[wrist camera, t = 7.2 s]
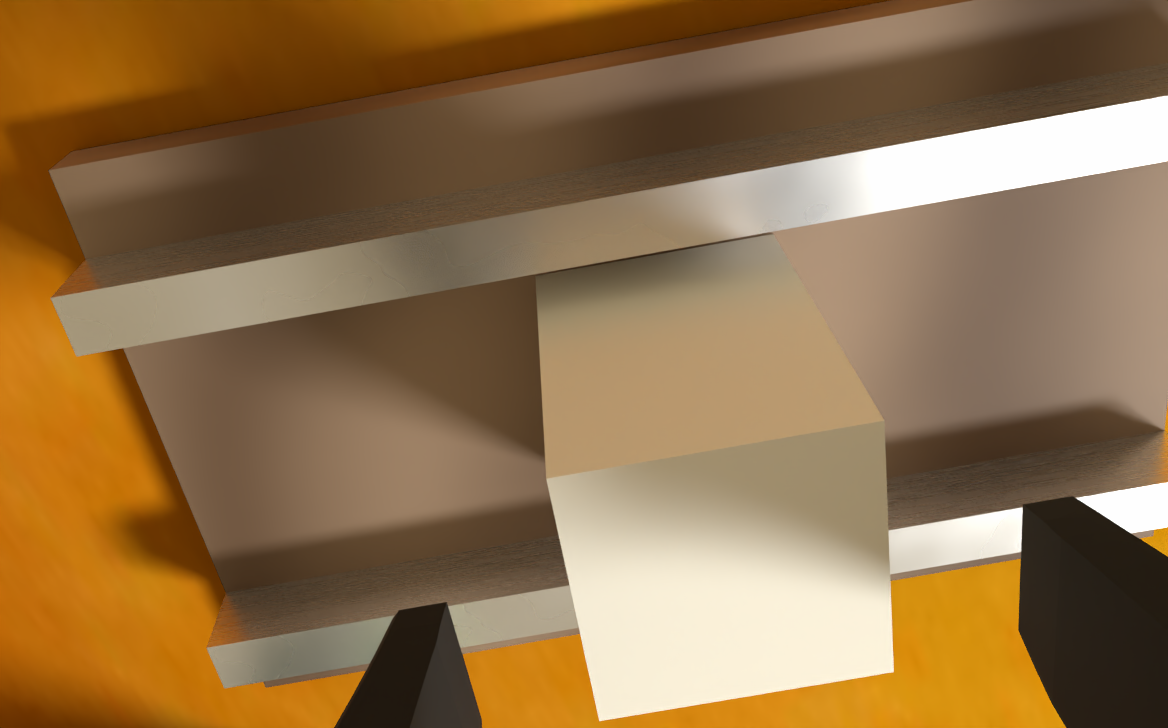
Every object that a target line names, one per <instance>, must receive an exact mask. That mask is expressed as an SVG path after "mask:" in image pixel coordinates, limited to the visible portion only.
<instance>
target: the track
mask: <svg viewBox="0 0 1168 728" xmlns="http://www.w3.org/2000/svg"><path fill="white" fill-rule="evenodd" d="M48 171H49V173H50V176H51V178H52V180H53V183H54V185H55V188H56V190H57V192H58V195H59V197H60V199H61V202H62V204H63V207H64V209H65V211H66V214H67V216H68V218H69V221H70V223H71V226H72V228H73V230H74V233H75V235H76V237H77V240H78V242H79V245H80V247H81V249H82V252H83V254H84V256H85V261H84V262H83V263H82V264H81V265H80V266H79V267H78V268H77V269H76V270H75V272H74V273H73V274H72V275H71V276H70V277H69V278H68V279H67V280H66V281H65V283H64V284H63V285H62V286H61V287H60V288H59V289H58V290H57V291H56V292H55V294H54V295H53V296H52V297H51V300H52V302H53V304H54V307H55V309H56V311H57V313H58V316H59V318H60V320H61V322H62V325H63V327H64V329H65V331H66V334H67V336H68V338H69V340H70V343H71V345H72V347H73V349H74V352H75V354H76V356H82V355H88V354H93V353H99V352H104V351H110V350H116V349H121V348H123V349H124V352H125V354H126V356H127V359H128V361H129V363H130V366H131V368H132V371H133V373H134V375H135V378H136V380H137V383H138V385H139V387H140V390H141V392H142V394H143V397H144V399H145V402H146V404H147V406H148V409H149V411H150V413H151V416H152V418H153V421H154V423H155V425H156V428H157V430H158V432H159V435H160V437H161V440H162V442H163V444H164V447H165V449H166V451H167V454H168V456H169V459H170V461H171V463H172V466H173V468H174V470H175V473H176V475H177V478H178V480H179V482H180V485H181V487H182V490H183V492H184V494H185V497H186V499H187V501H188V504H189V506H190V509H191V511H192V513H193V516H194V518H195V520H196V523H197V525H198V528H199V530H200V532H201V535H202V537H203V539H204V542H205V544H206V547H207V549H208V551H209V554H210V556H211V558H212V561H213V563H214V566H215V568H216V570H217V573H218V575H219V577H220V580H221V582H222V585H223V587H224V589H225V592H226V594H225V597H224V600H223V603H222V606H221V608H220V611H219V614H218V617H217V620H216V622H215V625H214V628H213V631H212V634H211V637H210V639H209V642H208V645H207V650H208V652H209V655H210V657H211V659H212V661H213V663H214V666H215V668H216V670H217V672H218V675H219V677H220V679H221V681H222V684H223V686H224V688H229V687H235V686H241V685H247V684H252V683H258V682H264V684H265V687H272V686H278V685H284V684H289V683H295V682H301V681H307V680H313V679H319V678H325V677H330V676H336V675H342V674H348V673H354V672H360V671H366V670H367V668H368V666H369V664H370V662H371V660H372V658H373V657H374V655H375V653H376V651H377V649H378V647H379V645H380V643H381V641H382V639H383V637H384V635H385V633H386V631H387V629H388V627H389V625H390V623H391V621H392V619H393V617H394V616H395V615H396V614H397V612H398V611H399V610H403V609H409V608H414V607H420V606H426V605H432V604H438V603H444V602H447V604H448V608H449V611H450V615H451V618H452V621H453V625H454V628H455V631H456V635H457V638H458V642H459V645H460V648H461V652H462V654H465V653H471V652H477V651H483V650H488V649H494V648H500V647H506V646H512V645H518V644H524V643H529V642H535V641H541V640H547V639H553V638H559V637H564V636H570V635H576V634H580V630H579V626H578V621H577V617H576V612H575V608H574V603H573V599H572V594H571V589H570V585H569V580H568V576H567V571H566V567H565V562H564V557H563V553H562V548H561V544H560V539H559V535H558V530H557V526H556V521H555V516H554V512H553V507H552V503H551V498H550V494H549V489H548V485H547V480H546V465H545V446H544V428H543V409H542V390H541V371H540V353H539V334H538V315H537V296H536V278H535V276H539V275H544V274H550V273H555V272H561V271H567V270H572V269H578V268H584V267H589V266H595V265H601V264H606V263H612V262H618V261H623V260H629V259H635V258H640V257H646V256H652V255H657V254H663V253H669V252H674V251H680V250H686V249H691V248H697V247H703V246H708V245H714V244H719V243H725V242H731V241H736V240H742V239H748V238H753V237H759V236H765V235H770V234H773V235H774V236H775V238H776V240H777V241H778V243H779V245H780V246H781V248H782V250H783V251H784V253H785V255H786V256H787V258H788V260H789V261H790V263H791V265H792V266H793V268H794V270H795V271H796V273H797V275H798V277H799V278H800V280H801V282H802V283H803V285H804V287H805V288H806V290H807V292H808V293H809V295H810V297H811V298H812V300H813V302H814V303H815V305H816V307H817V308H818V310H819V312H820V313H821V315H822V317H823V318H824V320H825V322H826V323H827V325H828V327H829V328H830V330H831V332H832V333H833V335H834V337H835V339H836V340H837V342H838V344H839V345H840V347H841V349H842V350H843V352H844V354H845V355H846V357H847V359H848V360H849V362H850V364H851V365H852V367H853V369H854V370H855V372H856V374H857V375H858V377H859V379H860V380H861V382H862V384H863V385H864V387H865V389H866V390H867V392H868V394H869V395H870V397H871V399H872V401H873V402H874V404H875V406H876V407H877V409H878V411H879V412H880V414H881V416H882V417H883V419H884V422H885V450H886V477H887V504H888V531H889V558H890V581H892V580H898V579H904V578H910V577H916V576H921V575H927V574H933V573H939V572H945V571H951V570H956V569H962V568H968V567H974V566H980V565H986V564H992V563H997V562H1003V561H1009V560H1015V559H1021V542H1022V512H1023V504H1028V503H1034V502H1040V501H1046V500H1052V499H1058V498H1064V497H1070V496H1073V497H1075V498H1077V499H1078V500H1080V501H1081V502H1083V503H1085V504H1086V505H1088V506H1090V507H1091V508H1093V509H1094V510H1096V511H1097V512H1099V513H1101V514H1102V515H1104V516H1105V517H1107V518H1108V519H1110V520H1111V521H1113V522H1114V523H1116V524H1118V525H1119V526H1121V527H1122V528H1124V529H1125V530H1127V531H1128V532H1130V533H1131V534H1133V535H1134V536H1136V537H1138V538H1144V537H1150V536H1153V533H1154V529H1159V528H1164V527H1168V433H1167V432H1166V431H1165V430H1164V429H1165V420H1166V410H1167V401H1168V0H890V1H885V2H880V3H874V4H869V5H863V6H858V7H852V8H847V9H842V10H836V11H831V12H825V13H820V14H814V15H809V16H804V17H798V18H793V19H787V20H782V21H776V22H771V23H766V24H760V25H755V26H749V27H744V28H738V29H733V30H728V31H722V32H717V33H711V34H706V35H700V36H695V37H690V38H684V39H679V40H673V41H668V42H662V43H657V44H652V45H646V46H641V47H635V48H630V49H624V50H619V51H614V52H608V53H603V54H597V55H592V56H586V57H581V58H576V59H570V60H565V61H559V62H554V63H548V64H543V65H538V66H532V67H527V68H521V69H516V70H511V71H505V72H500V73H494V74H489V75H483V76H478V77H473V78H467V79H462V80H456V81H451V82H445V83H440V84H435V85H429V86H424V87H418V88H413V89H407V90H402V91H397V92H391V93H386V94H380V95H375V96H369V97H364V98H359V99H353V100H348V101H342V102H337V103H331V104H326V105H321V106H315V107H310V108H304V109H299V110H293V111H288V112H283V113H277V114H272V115H266V116H261V117H255V118H250V119H245V120H239V121H234V122H228V123H223V124H217V125H212V126H207V127H201V128H196V129H190V130H185V131H179V132H174V133H169V134H163V135H158V136H152V137H147V138H141V139H136V140H131V141H125V142H120V143H114V144H109V145H104V146H98V147H93V148H87V149H82V150H76V151H71V152H70V153H69V154H68V155H67V156H65V157H64V158H63V159H62V160H60V161H59V162H58V163H57V164H56V165H54V166H53V167H52V168H51V169H49V170H48Z"/></svg>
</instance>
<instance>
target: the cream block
mask: <svg viewBox="0 0 1168 728" xmlns="http://www.w3.org/2000/svg"><path fill="white" fill-rule="evenodd" d="M535 278H536V296H537V315H538V334H539V353H540V371H541V390H542V409H543V428H544V446H545V465H546V480H547V485H548V489H549V494H550V498H551V503H552V507H553V512H554V516H555V521H556V526H557V530H558V535H559V539H560V544H561V548H562V553H563V557H564V562H565V567H566V571H567V576H568V580H569V585H570V589H571V594H572V599H573V603H574V608H575V612H576V617H577V621H578V626H579V630H580V635H581V640H582V644H583V649H584V653H585V658H586V662H587V667H588V671H589V676H590V681H591V685H592V690H593V694H594V699H595V703H596V708H597V712H598V717H599V721H603V720H609V719H615V718H621V717H627V716H633V715H639V714H645V713H651V712H657V711H663V710H669V709H675V708H681V707H687V706H693V705H699V704H705V703H711V702H717V701H723V700H729V699H735V698H741V697H747V696H753V695H759V694H765V693H771V692H777V691H783V690H789V689H795V688H801V687H807V686H813V685H819V684H825V683H831V682H837V681H843V680H849V679H855V678H861V677H867V676H873V675H879V674H885V673H891V672H894V667H893V640H892V613H891V586H890V558H889V531H888V504H887V477H886V450H885V422H884V419H883V417H882V416H881V414H880V412H879V411H878V409H877V407H876V406H875V404H874V402H873V401H872V399H871V397H870V395H869V394H868V392H867V390H866V389H865V387H864V385H863V384H862V382H861V380H860V379H859V377H858V375H857V374H856V372H855V370H854V369H853V367H852V365H851V364H850V362H849V360H848V359H847V357H846V355H845V354H844V352H843V350H842V349H841V347H840V345H839V344H838V342H837V340H836V339H835V337H834V335H833V333H832V332H831V330H830V328H829V327H828V325H827V323H826V322H825V320H824V318H823V317H822V315H821V313H820V312H819V310H818V308H817V307H816V305H815V303H814V302H813V300H812V298H811V297H810V295H809V293H808V292H807V290H806V288H805V287H804V285H803V283H802V282H801V280H800V278H799V277H798V275H797V273H796V271H795V270H794V268H793V266H792V265H791V263H790V261H789V260H788V258H787V256H786V255H785V253H784V251H783V250H782V248H781V246H780V245H779V243H778V241H777V240H776V238H775V236H774V235H773V234H770V235H765V236H759V237H753V238H748V239H742V240H736V241H731V242H725V243H719V244H714V245H708V246H703V247H697V248H691V249H686V250H680V251H674V252H669V253H663V254H657V255H652V256H646V257H640V258H635V259H629V260H623V261H618V262H612V263H606V264H601V265H595V266H589V267H584V268H578V269H572V270H567V271H561V272H555V273H550V274H544V275H539V276H535Z"/></svg>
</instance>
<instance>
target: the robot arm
mask: <svg viewBox="0 0 1168 728" xmlns="http://www.w3.org/2000/svg"><path fill="white" fill-rule="evenodd" d="M1019 632H1020V635H1021V637H1022V639H1023V641H1024V644H1025V646H1026V648H1027V651H1028V653H1029V655H1030V657H1031V660H1032V662H1033V664H1034V666H1035V669H1036V671H1037V673H1038V675H1039V677H1040V679H1041V681H1042V684H1043V686H1044V688H1045V690H1046V692H1047V694H1048V696H1049V698H1050V700H1051V703H1052V705H1053V706H1054V708H1055V710H1056V711H1057V713H1058V715H1059V716H1060V718H1061V720H1062V721H1063V723H1064V724H1065V726H1066V728H1168V557H1167V556H1166V555H1164V554H1162V553H1161V552H1159V551H1158V550H1156V549H1155V548H1153V547H1152V546H1150V545H1148V544H1147V543H1145V542H1144V541H1142V540H1141V539H1139V538H1138V537H1136V536H1134V535H1133V534H1131V533H1130V532H1128V531H1127V530H1125V529H1124V528H1122V527H1121V526H1119V525H1118V524H1116V523H1114V522H1113V521H1111V520H1110V519H1108V518H1107V517H1105V516H1104V515H1102V514H1101V513H1099V512H1097V511H1096V510H1094V509H1093V508H1091V507H1090V506H1088V505H1086V504H1085V503H1083V502H1081V501H1080V500H1078V499H1077V498H1075V497H1073V496H1070V497H1064V498H1058V499H1052V500H1046V501H1040V502H1034V503H1028V504H1023V512H1022V542H1021V571H1020V601H1019ZM334 728H482V719H481V716H480V713H479V709H478V706H477V702H476V699H475V696H474V692H473V689H472V685H471V682H470V679H469V675H468V672H467V669H466V665H465V662H464V658H463V655H462V652H461V648H460V645H459V642H458V638H457V635H456V631H455V628H454V625H453V621H452V618H451V615H450V611H449V608H448V604H447V602H444V603H438V604H432V605H426V606H420V607H414V608H409V609H403V610H399V611H398V612H397V614H396V615H395V616H394V617H393V619H392V621H391V623H390V625H389V627H388V629H387V631H386V633H385V635H384V637H383V639H382V641H381V643H380V645H379V647H378V649H377V651H376V653H375V655H374V657H373V658H372V660H371V662H370V664H369V666H368V668H367V670H366V672H365V674H364V676H363V677H362V679H361V681H360V683H359V685H358V687H357V689H356V690H355V692H354V694H353V696H352V698H351V700H350V701H349V703H348V705H347V706H346V708H345V710H344V712H343V713H342V715H341V717H340V719H339V720H338V722H337V724H336V726H335V727H334Z"/></svg>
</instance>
